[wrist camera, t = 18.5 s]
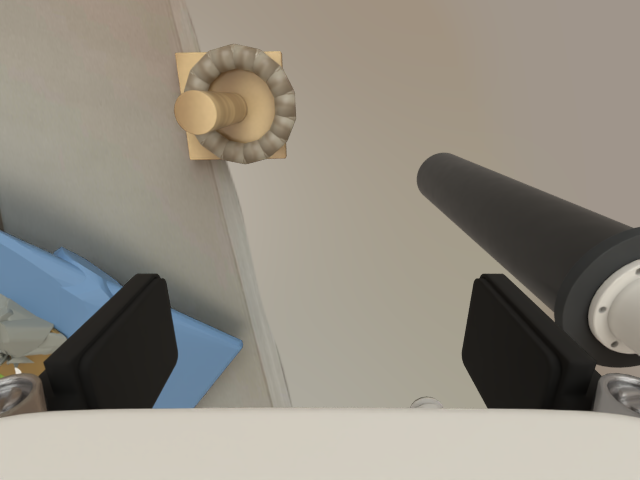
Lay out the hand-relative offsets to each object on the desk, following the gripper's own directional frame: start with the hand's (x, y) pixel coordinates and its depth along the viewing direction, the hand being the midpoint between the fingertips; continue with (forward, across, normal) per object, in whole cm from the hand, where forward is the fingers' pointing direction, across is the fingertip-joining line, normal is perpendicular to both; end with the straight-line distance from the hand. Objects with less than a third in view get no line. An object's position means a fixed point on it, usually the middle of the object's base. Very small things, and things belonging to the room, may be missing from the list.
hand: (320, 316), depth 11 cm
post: (+26, +8, -6) cm, 28 cm away
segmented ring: (+24, +7, -6) cm, 26 cm away
